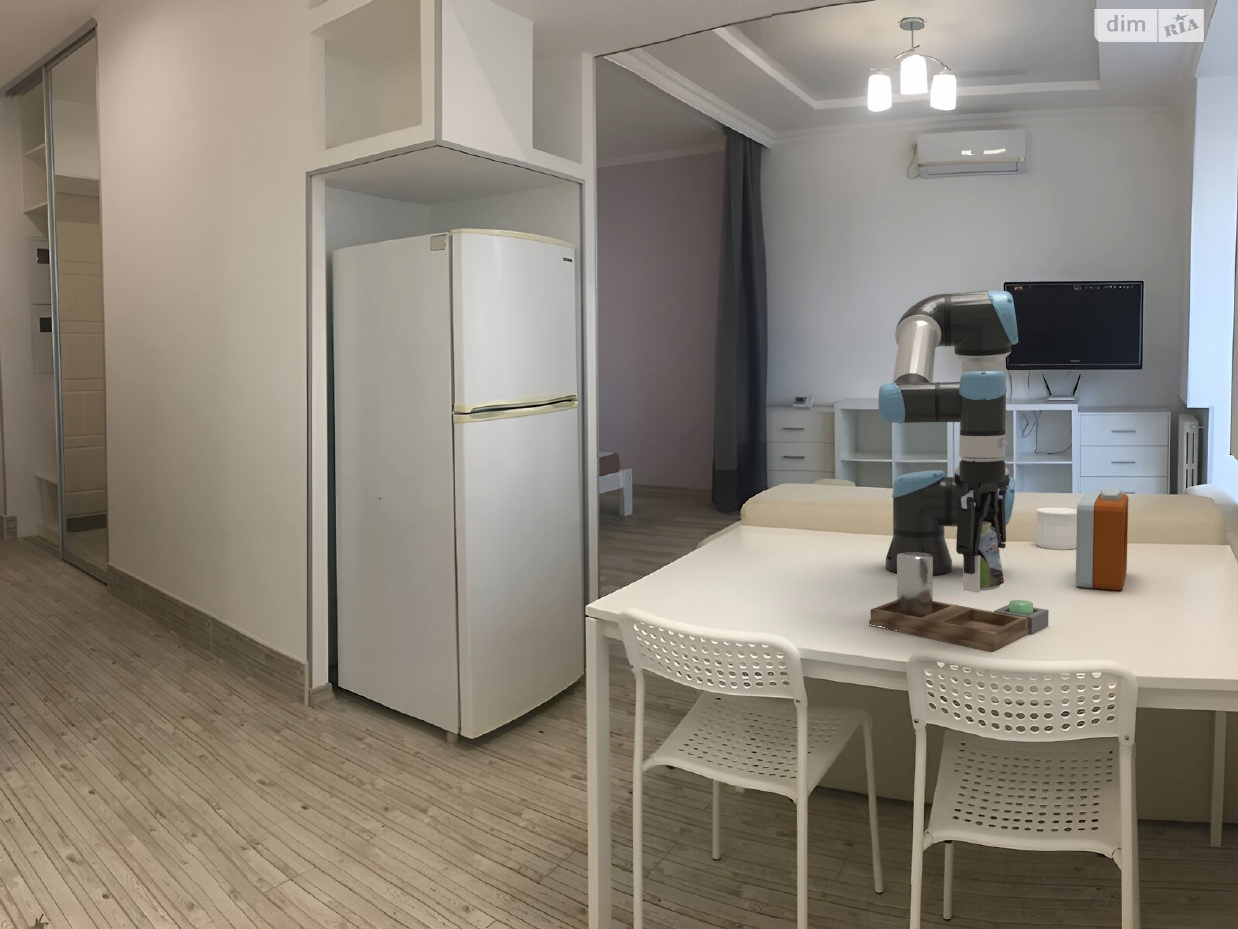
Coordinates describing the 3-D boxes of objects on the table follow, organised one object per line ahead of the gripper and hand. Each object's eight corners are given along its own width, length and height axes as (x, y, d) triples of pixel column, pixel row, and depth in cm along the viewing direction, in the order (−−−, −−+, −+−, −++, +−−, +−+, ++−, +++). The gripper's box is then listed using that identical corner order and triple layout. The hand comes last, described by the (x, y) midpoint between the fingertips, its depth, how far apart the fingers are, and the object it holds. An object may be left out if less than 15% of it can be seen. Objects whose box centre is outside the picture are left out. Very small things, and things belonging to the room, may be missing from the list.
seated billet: (890, 618, 170) (890, 556, 169) (908, 611, 175) (908, 550, 173) (921, 624, 166) (921, 560, 164) (939, 617, 170) (939, 555, 169)
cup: (1085, 549, 229) (1086, 512, 228) (1046, 551, 229) (1046, 513, 228) (1067, 542, 238) (1068, 506, 237) (1029, 543, 238) (1030, 507, 237)
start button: (1005, 626, 166) (1005, 603, 165) (1015, 622, 169) (1015, 599, 168) (1027, 631, 163) (1027, 606, 162) (1036, 626, 166) (1036, 602, 165)
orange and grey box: (1122, 592, 187) (1124, 495, 184) (1075, 588, 191) (1076, 493, 189) (1126, 574, 202) (1128, 483, 200) (1083, 570, 207) (1084, 482, 205)
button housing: (993, 626, 166) (993, 611, 166) (1010, 618, 171) (1010, 603, 170) (1031, 634, 161) (1032, 617, 160) (1048, 625, 165) (1048, 609, 165)
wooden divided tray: (869, 625, 170) (869, 610, 169) (908, 610, 179) (908, 595, 179) (992, 651, 152) (993, 634, 152) (1029, 633, 161) (1029, 617, 161)
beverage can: (1007, 593, 156) (1008, 525, 155) (962, 593, 157) (963, 525, 156) (999, 585, 162) (1000, 519, 161) (956, 584, 163) (956, 519, 162)
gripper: (976, 465, 148) (975, 601, 150) (1028, 455, 161) (1026, 580, 163) (934, 462, 154) (934, 594, 156) (987, 453, 167) (986, 574, 169)
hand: (981, 587), depth 160 cm, fingers closed on beverage can, 7 cm apart
